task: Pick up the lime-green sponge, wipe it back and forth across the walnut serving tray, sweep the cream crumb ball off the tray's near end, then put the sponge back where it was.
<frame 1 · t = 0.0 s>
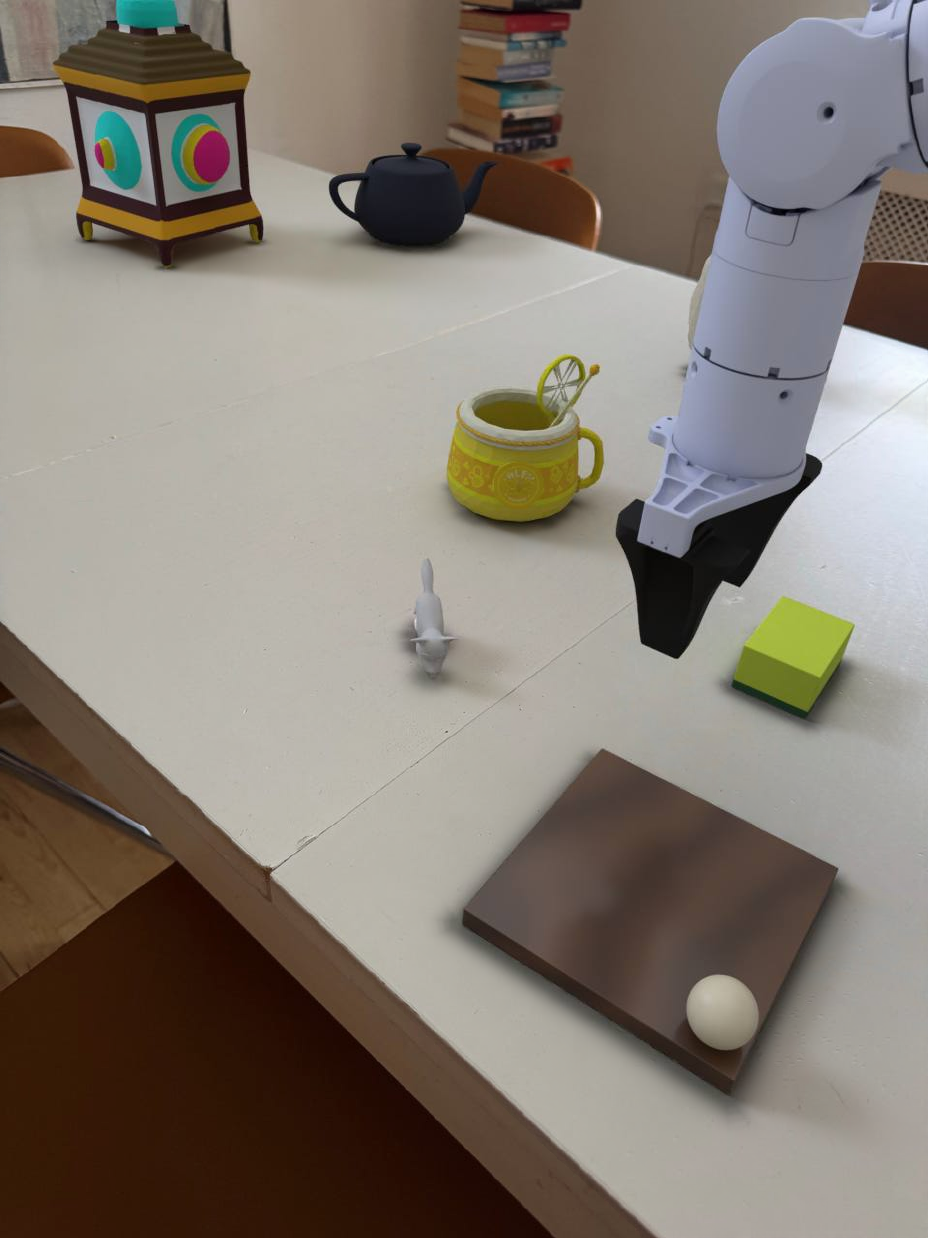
hand: (694, 611, 49), 12 cm above the table, tool pointing down, fingers open, 7 cm apart
vase: (715, 378, 104), on the table
crumb: (714, 1030, 42), point 1 cm above the table, touching tray
teapot: (414, 237, 139), on the table
mug: (521, 500, 81), on the table
decorative lantern: (173, 242, 130), on the table
tray: (653, 902, 49), on the table
dog figurine: (428, 652, 64), on the table
sponge: (786, 675, 64), on the table
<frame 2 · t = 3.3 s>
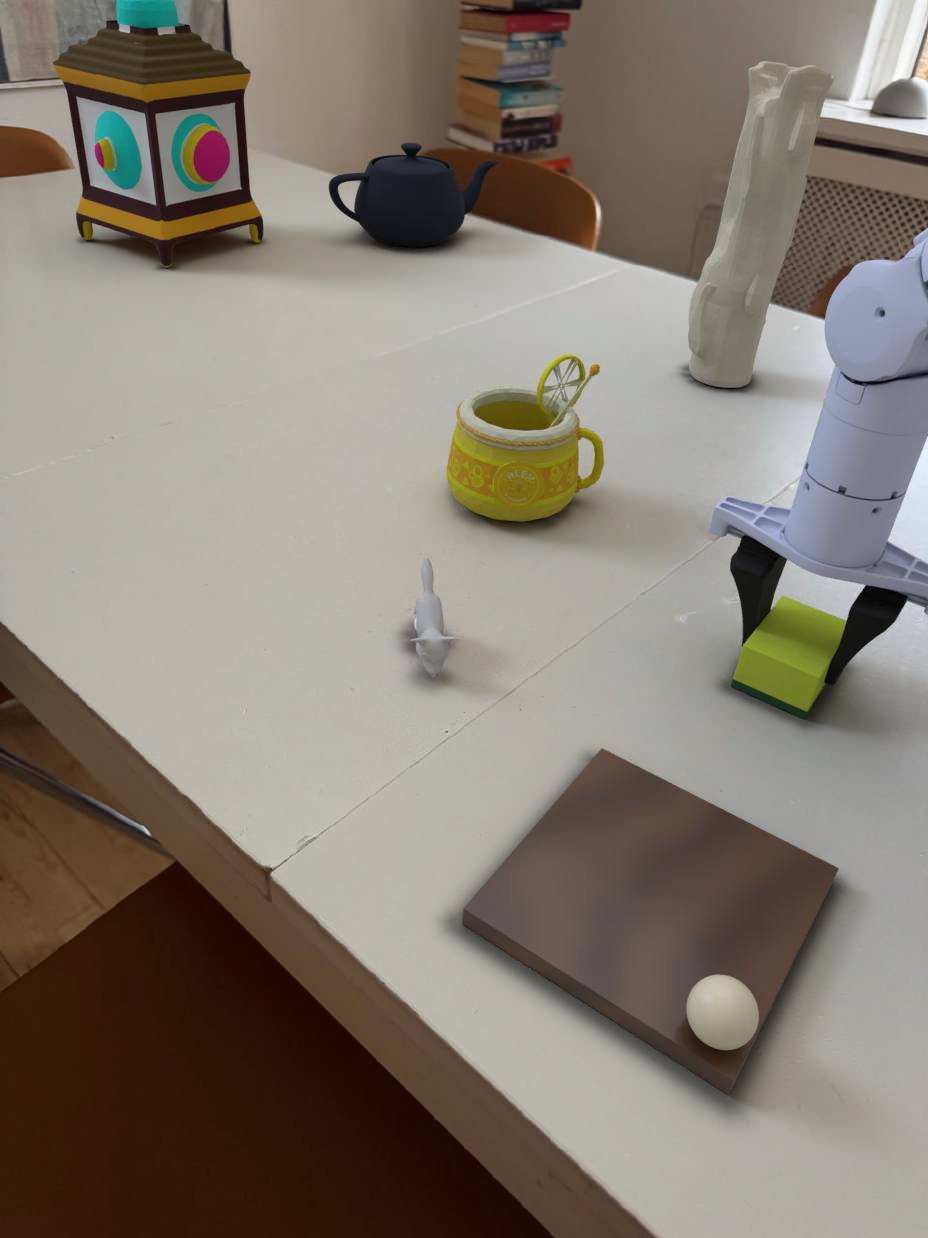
hand: (792, 659, 63), 1 cm above the table, tool pointing down, fingers closed on sponge, 5 cm apart
sponge: (785, 675, 64), on the table, touching gripper
everything else where it was.
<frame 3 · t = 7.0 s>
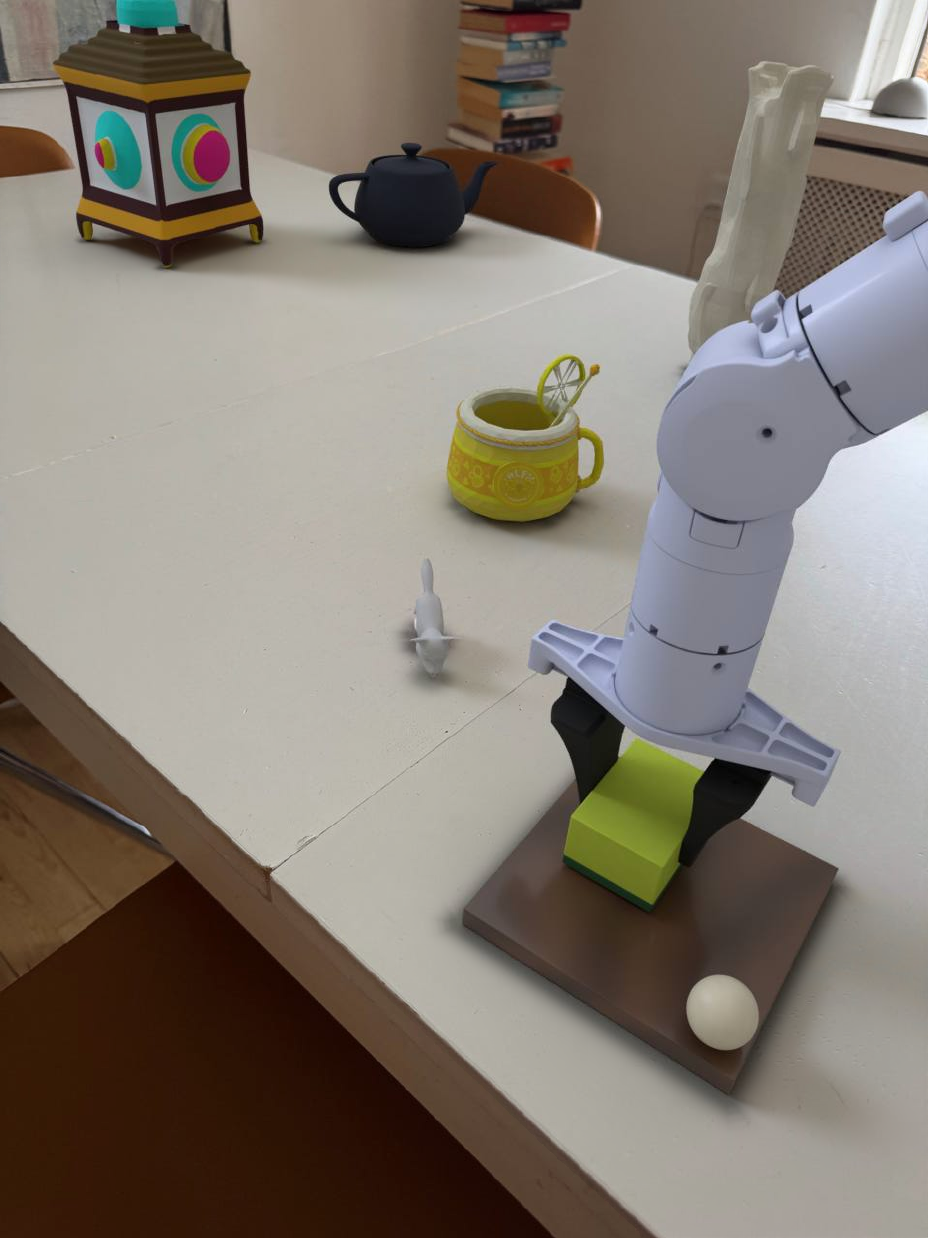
hand: (642, 826, 49), 3 cm above the table, tool pointing down, fingers closed on sponge, 5 cm apart
sponge: (637, 843, 50), point 1 cm above the table, touching gripper
everything else where it was.
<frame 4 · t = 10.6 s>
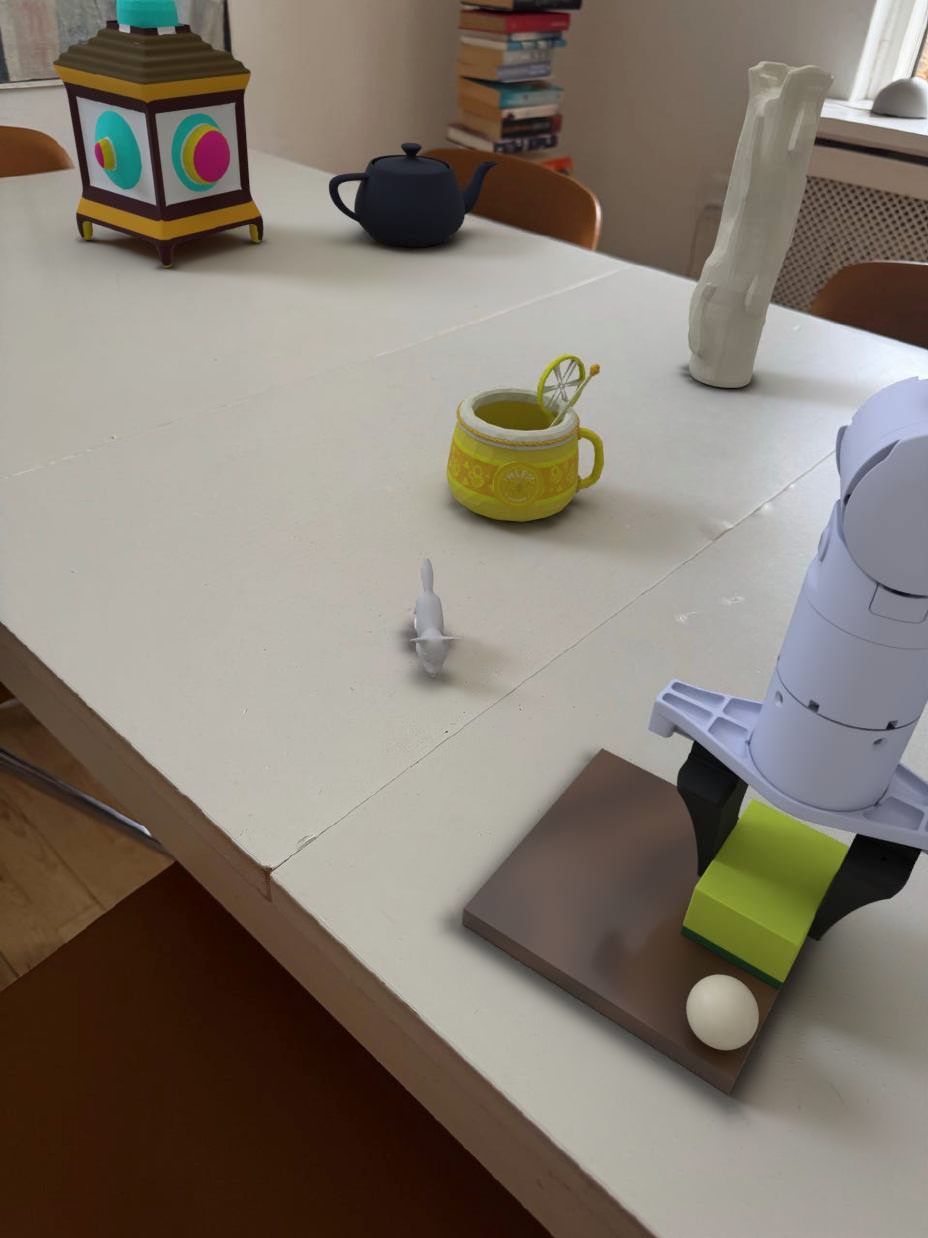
hand: (764, 894, 47), 3 cm above the table, tool pointing down, fingers closed on sponge, 5 cm apart
sponge: (756, 911, 47), point 1 cm above the table, touching gripper, tray
everything else where it was.
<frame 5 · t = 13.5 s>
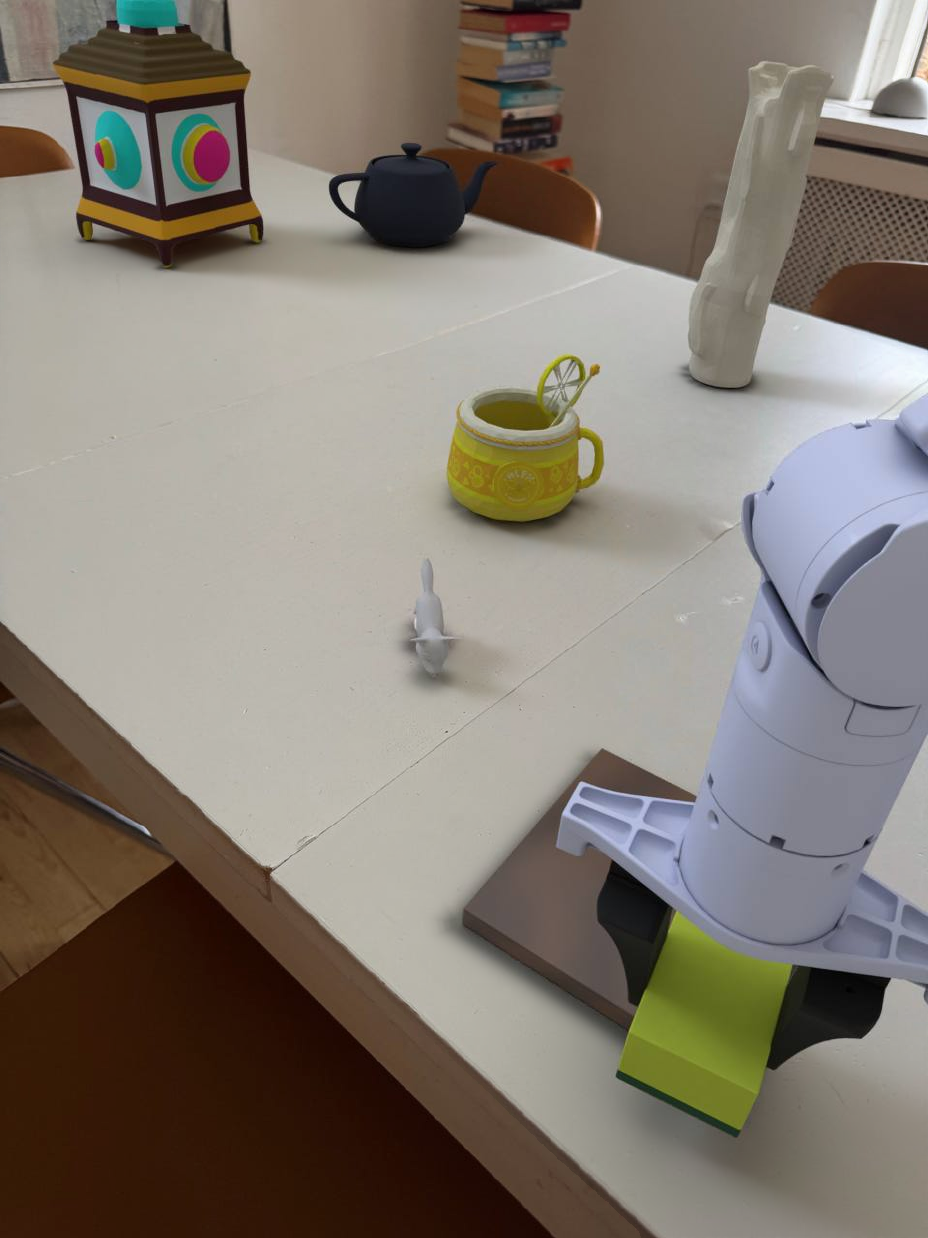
hand: (706, 1016, 40), 4 cm above the table, tool pointing down, fingers closed on sponge, 5 cm apart
sponge: (699, 1034, 41), point 3 cm above the table, touching gripper
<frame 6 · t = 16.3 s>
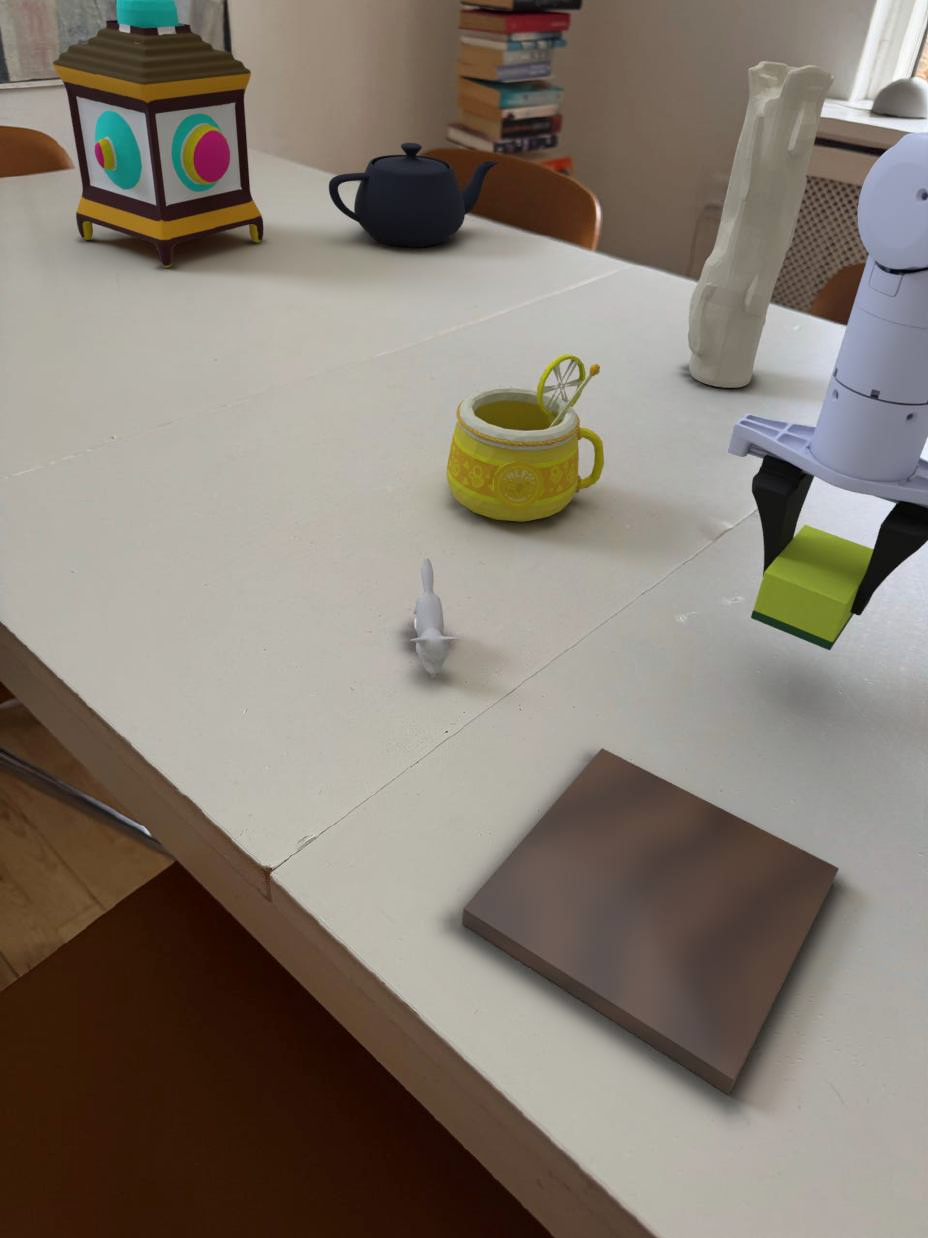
hand: (815, 589, 60), 7 cm above the table, tool pointing down, fingers closed on sponge, 5 cm apart
sponge: (808, 607, 61), point 6 cm above the table, touching gripper
when the fingers open (1 cm above the table, at t = 18.2 s): sponge stays where it is, on the table.
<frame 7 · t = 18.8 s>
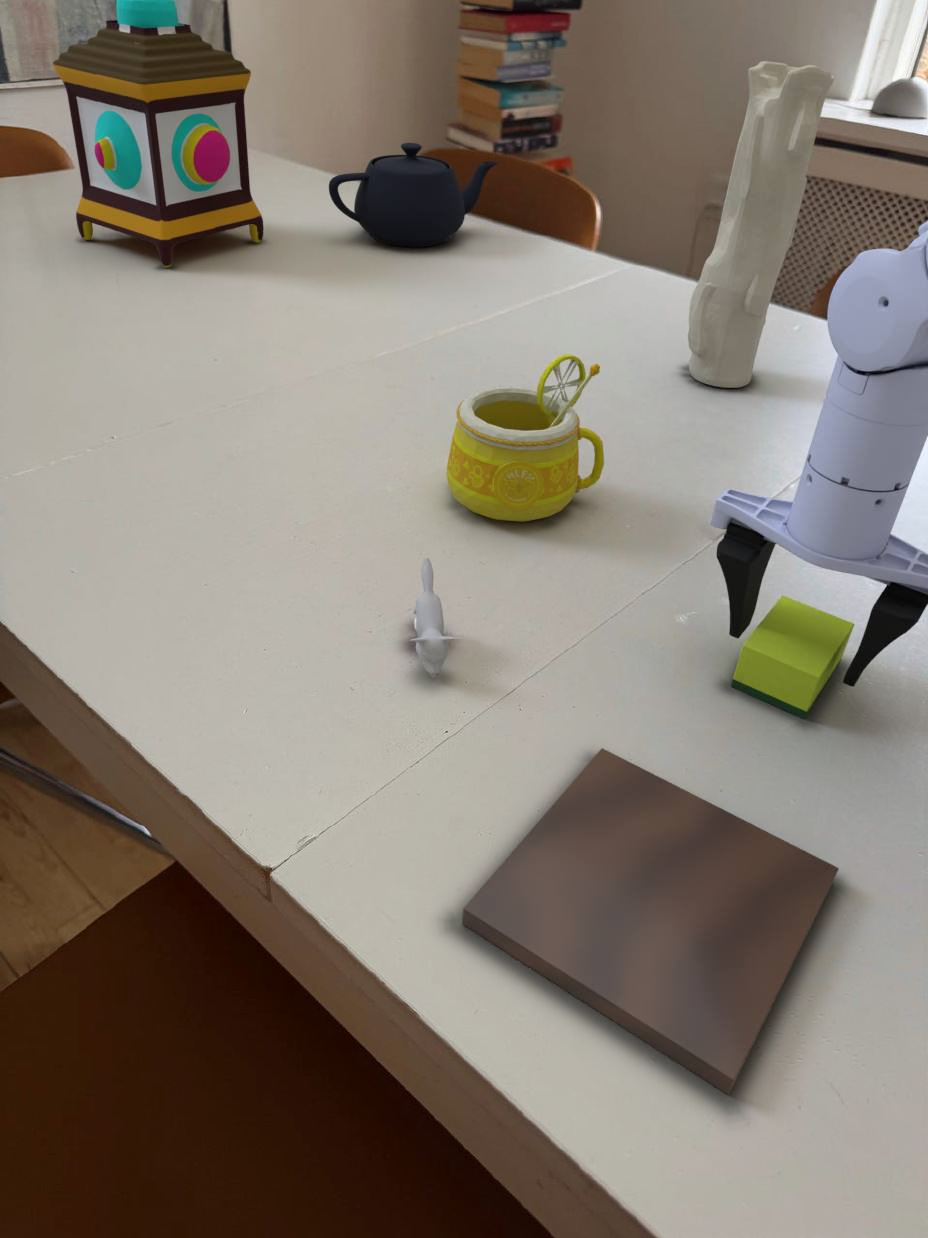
hand: (794, 652, 63), 2 cm above the table, tool pointing down, fingers open, 7 cm apart
sponge: (785, 675, 64), on the table
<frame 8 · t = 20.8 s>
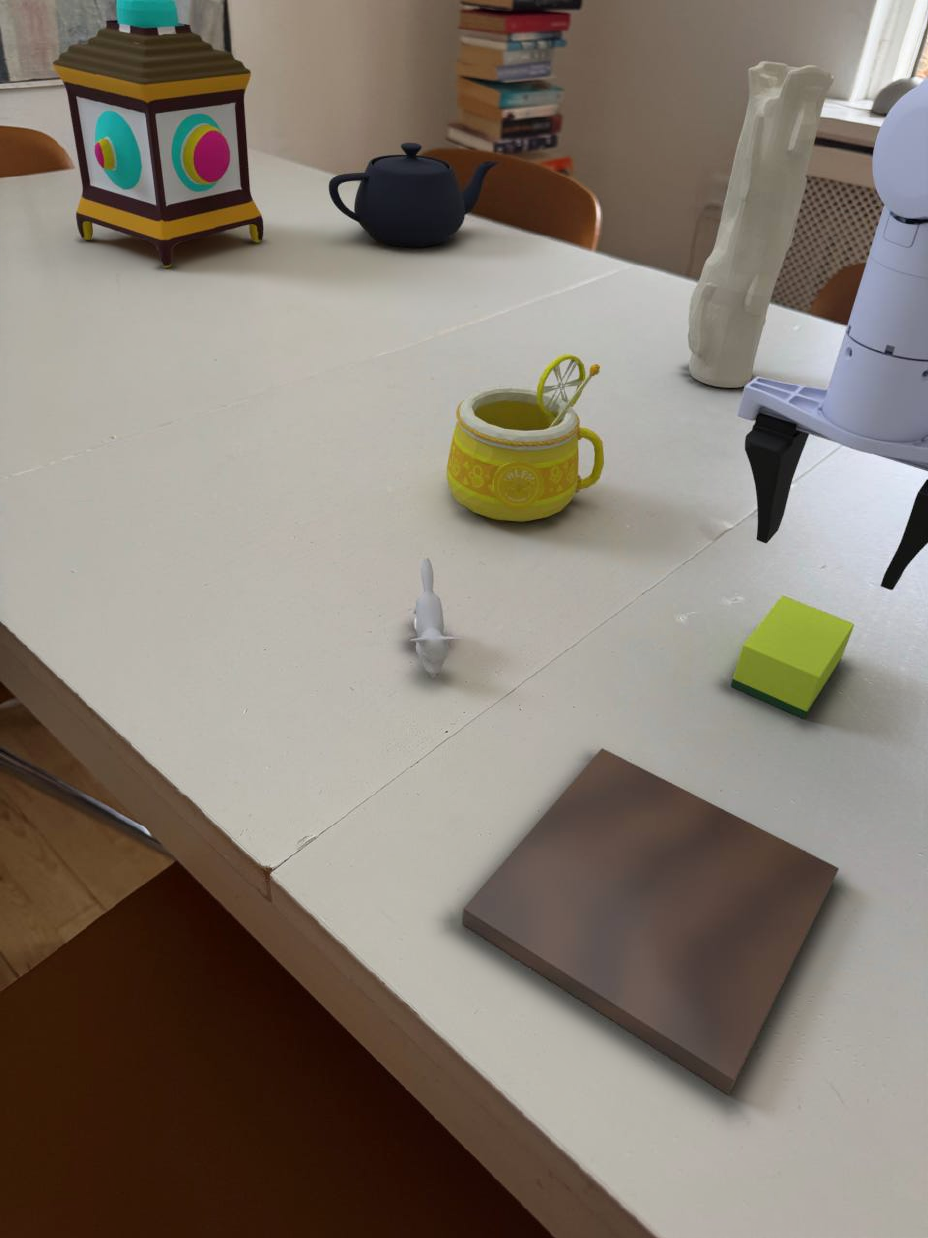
hand: (827, 557, 59), 9 cm above the table, tool pointing down, fingers open, 7 cm apart
at the end: crumb on the floor; sponge inside the target area (0.0 cm from its centre), on the table; sponge tilted 0° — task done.
